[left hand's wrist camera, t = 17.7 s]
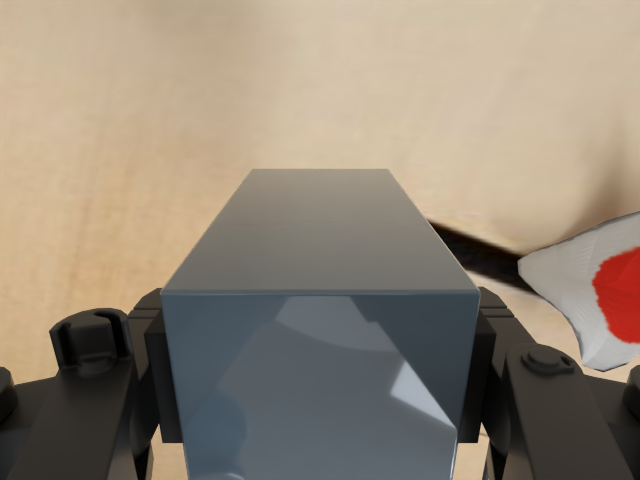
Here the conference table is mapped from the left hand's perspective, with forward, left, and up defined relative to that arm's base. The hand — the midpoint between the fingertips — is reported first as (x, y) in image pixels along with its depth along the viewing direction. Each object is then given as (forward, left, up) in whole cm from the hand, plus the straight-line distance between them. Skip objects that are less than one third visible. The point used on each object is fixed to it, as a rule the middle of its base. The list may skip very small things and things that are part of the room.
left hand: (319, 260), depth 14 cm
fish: (-14, +17, -14) cm, 26 cm away
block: (0, 0, -2) cm, 2 cm away
